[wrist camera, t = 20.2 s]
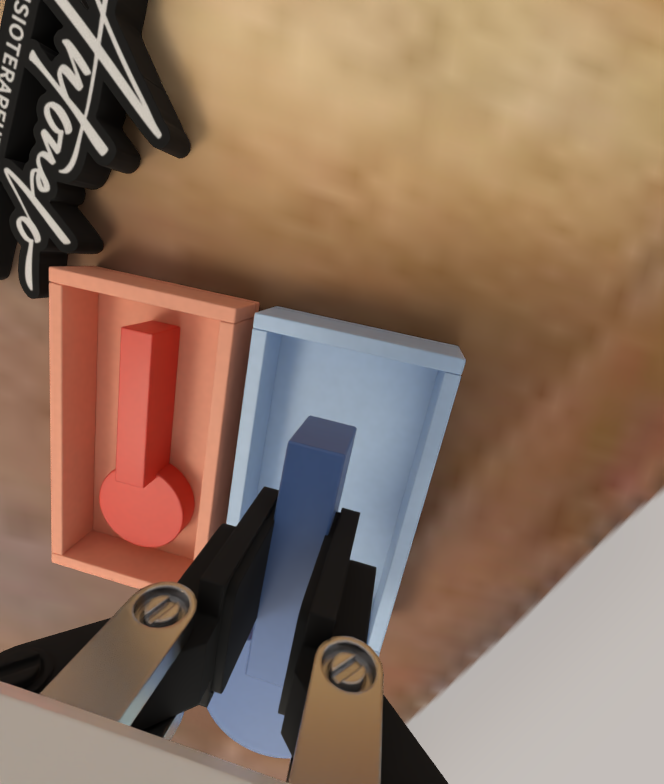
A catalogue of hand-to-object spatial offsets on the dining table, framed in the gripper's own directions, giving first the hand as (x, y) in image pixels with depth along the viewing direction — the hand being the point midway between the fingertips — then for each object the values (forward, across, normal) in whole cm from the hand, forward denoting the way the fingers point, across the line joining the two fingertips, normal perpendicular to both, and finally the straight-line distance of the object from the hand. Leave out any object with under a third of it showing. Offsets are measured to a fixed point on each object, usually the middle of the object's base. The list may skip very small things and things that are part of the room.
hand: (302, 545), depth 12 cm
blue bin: (+8, 0, +2) cm, 8 cm away
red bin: (+8, +9, +2) cm, 12 cm away
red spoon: (+7, +9, +2) cm, 12 cm away
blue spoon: (+1, 0, +2) cm, 2 cm away
